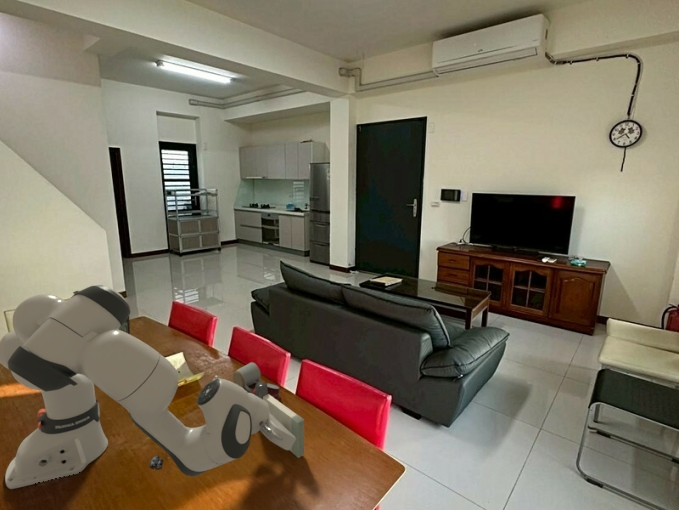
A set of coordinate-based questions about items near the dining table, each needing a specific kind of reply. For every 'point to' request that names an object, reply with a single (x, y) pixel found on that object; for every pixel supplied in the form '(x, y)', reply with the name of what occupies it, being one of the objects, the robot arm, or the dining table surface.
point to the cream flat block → (288, 423)
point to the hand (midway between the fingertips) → (284, 431)
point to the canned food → (269, 390)
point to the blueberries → (156, 462)
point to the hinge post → (261, 389)
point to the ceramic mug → (247, 376)
